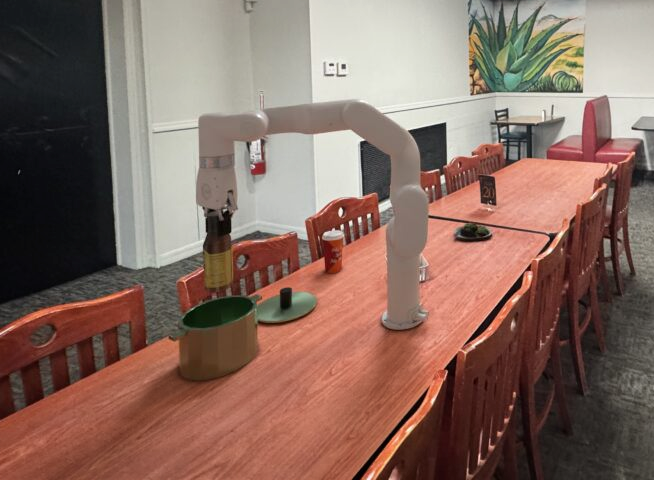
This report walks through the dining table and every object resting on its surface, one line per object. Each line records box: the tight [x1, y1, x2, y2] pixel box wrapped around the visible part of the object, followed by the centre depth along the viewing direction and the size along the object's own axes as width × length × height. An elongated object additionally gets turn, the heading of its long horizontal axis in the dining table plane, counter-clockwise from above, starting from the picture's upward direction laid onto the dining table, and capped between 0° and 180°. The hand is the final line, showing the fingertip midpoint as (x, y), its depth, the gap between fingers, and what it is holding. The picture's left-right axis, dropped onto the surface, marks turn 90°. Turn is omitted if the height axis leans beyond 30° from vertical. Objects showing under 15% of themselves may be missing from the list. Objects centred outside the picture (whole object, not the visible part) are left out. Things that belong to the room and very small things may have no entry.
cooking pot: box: [168, 293, 263, 381], centre depth 115 cm, size 17×22×12 cm
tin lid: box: [257, 286, 318, 324], centre depth 139 cm, size 18×18×6 cm
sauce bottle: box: [202, 210, 234, 294], centre depth 114 cm, size 7×6×20 cm
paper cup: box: [321, 229, 345, 274], centre depth 167 cm, size 8×8×14 cm
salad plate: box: [453, 222, 493, 242], centre depth 207 cm, size 19×18×5 cm
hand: (218, 232), depth 114 cm, fingers closed on sauce bottle, 4 cm apart
